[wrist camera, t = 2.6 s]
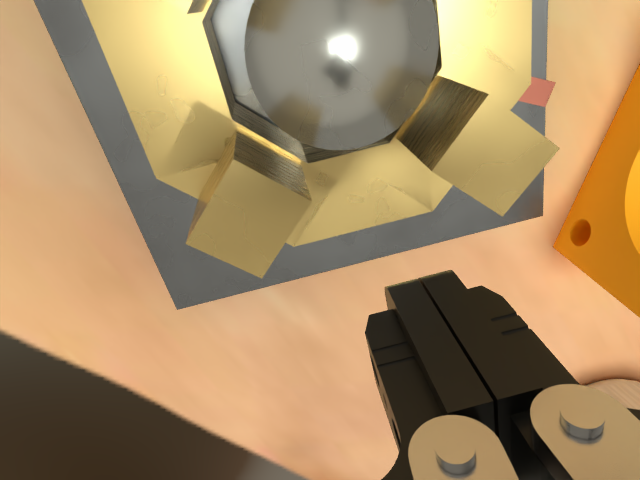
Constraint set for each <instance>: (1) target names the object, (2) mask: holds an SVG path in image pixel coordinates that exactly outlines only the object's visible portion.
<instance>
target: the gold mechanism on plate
mask: <svg viewBox="0 0 640 480" xmlns="http://www.w3.org/2000/svg"><path fill="white" fill-rule="evenodd" d="M34 2H35V4H36V6H37V8H38V10H39V13H40V15H41V17H42V19H43V21H44V23H45V26H46V28H47V30H48V32H49V34H50V36H51V39H52V41H53V43H54V45H55V47H56V49H57V51H58V54H59V56H60V58H61V60H62V62H63V64H64V67H65V69H66V71H67V73H68V75H69V77H70V80H71V82H72V84H73V86H74V88H75V90H76V92H77V95H78V97H79V99H80V101H81V103H82V105H83V108H84V110H85V112H86V114H87V116H88V118H89V121H90V123H91V125H92V127H93V129H94V131H95V133H96V136H97V138H98V140H99V142H100V144H101V146H102V149H103V151H104V153H105V155H106V157H107V159H108V162H109V164H110V166H111V168H112V170H113V172H114V174H115V177H116V179H117V181H118V183H119V185H120V187H121V190H122V192H123V194H124V196H125V198H126V200H127V203H128V205H129V207H130V209H131V211H132V213H133V215H134V218H135V220H136V222H137V224H138V226H139V228H140V231H141V233H142V235H143V237H144V239H145V241H146V244H147V246H148V248H149V250H150V252H151V254H152V256H153V259H154V261H155V263H156V265H157V267H158V269H159V272H160V274H161V276H162V278H163V280H164V282H165V285H166V287H167V289H168V291H169V293H170V295H171V297H172V300H173V302H174V304H175V306H176V308H177V310H178V309H182V308H186V307H190V306H194V305H198V304H201V303H205V302H209V301H213V300H217V299H221V298H225V297H229V296H233V295H236V294H240V293H244V292H248V291H252V290H256V289H260V288H264V287H268V286H271V285H275V284H279V283H283V282H287V281H291V280H295V279H299V278H303V277H306V276H310V275H314V274H318V273H322V272H326V271H330V270H334V269H338V268H341V267H345V266H349V265H353V264H357V263H361V262H365V261H369V260H373V259H376V258H380V257H384V256H388V255H392V254H396V253H400V252H404V251H408V250H411V249H415V248H419V247H423V246H427V245H431V244H435V243H439V242H442V241H446V240H450V239H454V238H458V237H462V236H466V235H470V234H474V233H477V232H481V231H485V230H489V229H493V228H497V227H501V226H505V225H509V224H512V223H516V222H520V221H524V220H528V219H532V218H536V217H540V216H543V185H544V168H543V169H542V170H541V171H540V173H539V174H538V175H537V176H536V177H535V178H534V180H533V181H532V182H531V183H530V184H529V186H528V187H527V188H526V189H525V190H524V192H523V193H522V194H521V195H520V196H519V198H518V199H517V200H516V201H515V202H514V204H513V205H512V206H511V207H510V208H509V210H508V211H507V212H506V213H505V214H504V216H503V217H502V216H501V215H499V214H497V213H496V212H494V211H493V210H491V209H490V208H488V207H487V206H485V205H483V204H482V203H480V202H479V201H477V200H476V199H474V198H473V197H471V196H469V195H468V194H466V193H465V192H463V191H462V190H460V189H459V188H457V187H455V186H454V185H453V186H452V187H451V188H450V190H449V191H448V192H447V194H446V195H445V196H444V197H443V199H442V200H441V201H440V203H439V204H438V205H437V207H436V208H435V209H434V210H433V211H432V212H428V213H424V214H420V215H416V216H412V217H408V218H404V219H401V220H397V221H393V222H389V223H385V224H381V225H377V226H373V227H369V228H365V229H362V230H358V231H354V232H350V233H346V234H342V235H338V236H334V237H330V238H326V239H323V240H319V241H315V242H311V243H307V244H303V245H299V246H295V247H293V246H291V245H289V244H287V243H285V244H284V246H283V247H282V249H281V250H280V252H279V253H278V255H277V256H276V258H275V259H274V261H273V262H272V264H271V265H270V267H269V268H268V270H267V271H266V273H265V275H264V276H263V278H260V277H257V276H255V275H253V274H251V273H249V272H246V271H244V270H242V269H240V268H238V267H235V266H233V265H231V264H229V263H227V262H224V261H222V260H220V259H218V258H215V257H213V256H211V255H209V254H207V253H204V252H202V251H200V250H198V249H196V248H193V247H191V246H189V245H187V244H186V240H187V237H188V233H189V230H190V226H191V223H192V219H193V216H194V212H195V209H196V205H197V202H198V199H197V198H195V197H193V196H191V195H189V194H186V193H184V192H182V191H180V190H178V189H176V188H174V187H172V186H170V185H168V184H166V183H164V182H162V181H160V180H158V179H156V177H155V175H154V172H153V170H152V167H151V165H150V163H149V160H148V158H147V156H146V153H145V151H144V148H143V146H142V144H141V141H140V139H139V136H138V134H137V132H136V129H135V127H134V124H133V122H132V120H131V117H130V115H129V112H128V110H127V108H126V105H125V103H124V100H123V98H122V96H121V93H120V91H119V89H118V86H117V84H116V81H115V79H114V77H113V74H112V72H111V69H110V67H109V65H108V62H107V60H106V57H105V55H104V53H103V50H102V48H101V45H100V43H99V41H98V38H97V36H96V34H95V31H94V29H93V26H92V24H91V22H90V19H89V17H88V14H87V12H86V10H85V7H84V5H83V2H82V0H34ZM210 20H211V23H212V26H213V30H214V33H215V36H216V40H217V43H218V46H219V50H220V53H221V56H222V59H223V63H224V66H225V69H226V73H227V76H228V79H229V83H230V86H231V89H232V93H233V96H234V99H235V102H236V103H237V104H239V105H241V106H242V107H244V108H246V109H248V110H249V111H251V112H253V113H254V114H256V115H258V116H259V117H261V118H263V119H264V120H266V121H268V122H269V123H271V124H273V125H274V126H276V127H278V128H280V129H281V130H283V131H284V132H285V133H287V134H288V135H290V136H291V137H293V138H295V139H296V140H298V141H300V142H302V143H305V144H307V145H310V146H313V147H317V148H322V149H327V150H350V149H355V148H360V147H364V146H367V145H370V144H372V143H375V142H377V141H379V140H381V139H383V138H385V137H386V136H388V135H389V134H391V133H393V132H394V131H395V130H396V129H398V128H399V127H400V126H401V125H402V124H403V123H404V122H405V121H406V120H407V119H408V118H409V117H410V116H411V115H412V114H413V112H414V111H415V110H416V109H417V107H418V106H419V104H420V103H421V101H422V99H423V98H424V96H425V94H426V92H427V90H428V88H429V86H430V84H431V81H432V78H433V75H434V72H435V68H436V63H437V58H438V48H439V30H438V23H437V16H436V13H435V9H434V5H433V2H432V0H220V1H219V3H218V5H217V7H216V9H215V11H214V13H213V15H212V17H211V19H210ZM547 20H548V0H532V46H531V84H530V86H529V87H528V88H527V90H526V91H525V92H524V93H523V95H522V96H521V97H520V99H519V100H518V101H517V103H516V104H515V105H514V106H513V108H512V109H511V110H510V111H512V112H513V113H514V114H516V115H517V116H518V117H519V118H521V119H522V120H523V121H525V122H526V123H527V124H529V125H530V126H531V127H533V128H534V129H535V130H536V131H538V132H539V133H540V134H542V135H543V136H544V137H545V106H546V104H547V102H548V99H549V97H550V95H551V92H552V90H553V88H554V85H555V83H556V82H552V81H548V80H546V62H547Z"/></svg>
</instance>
